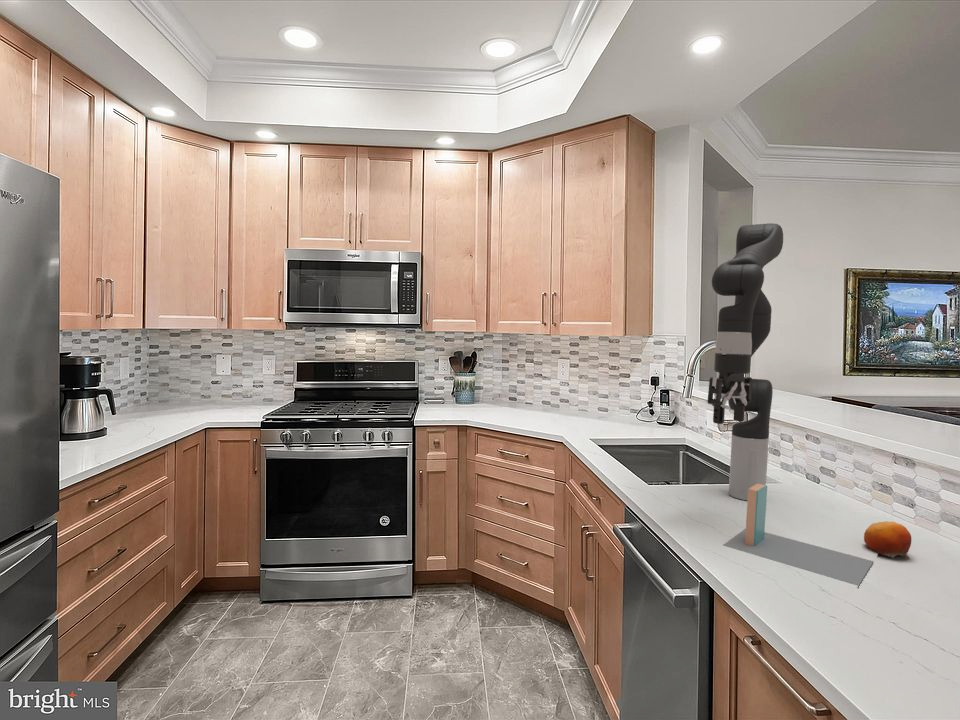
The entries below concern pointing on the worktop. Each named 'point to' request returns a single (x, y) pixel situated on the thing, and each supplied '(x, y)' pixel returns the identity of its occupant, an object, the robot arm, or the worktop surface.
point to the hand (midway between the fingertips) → (728, 422)
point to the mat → (806, 557)
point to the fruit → (888, 539)
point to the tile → (756, 514)
